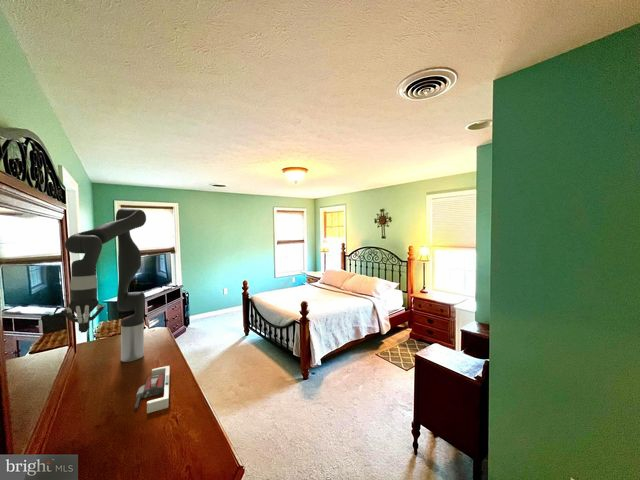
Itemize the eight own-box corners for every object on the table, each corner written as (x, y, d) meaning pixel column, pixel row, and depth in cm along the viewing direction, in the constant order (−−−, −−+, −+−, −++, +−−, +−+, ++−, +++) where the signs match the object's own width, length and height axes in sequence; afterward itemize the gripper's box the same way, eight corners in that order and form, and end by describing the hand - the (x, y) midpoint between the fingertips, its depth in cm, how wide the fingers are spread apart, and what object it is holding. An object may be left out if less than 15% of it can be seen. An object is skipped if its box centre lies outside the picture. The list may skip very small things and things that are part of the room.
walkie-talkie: (141, 383, 107) (131, 413, 90) (141, 372, 107) (132, 400, 89) (165, 378, 111) (161, 405, 94) (165, 368, 111) (161, 394, 93)
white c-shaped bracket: (152, 376, 111) (152, 367, 111) (169, 373, 115) (169, 364, 115) (146, 413, 89) (146, 402, 89) (168, 407, 92) (168, 396, 92)
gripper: (108, 283, 103) (108, 325, 104) (64, 286, 97) (64, 331, 97) (104, 287, 97) (103, 332, 97) (56, 290, 90) (56, 338, 91)
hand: (84, 331), depth 97 cm, fingers closed
